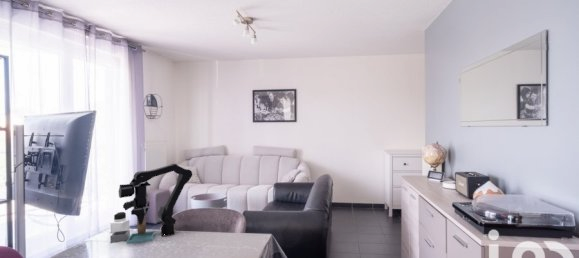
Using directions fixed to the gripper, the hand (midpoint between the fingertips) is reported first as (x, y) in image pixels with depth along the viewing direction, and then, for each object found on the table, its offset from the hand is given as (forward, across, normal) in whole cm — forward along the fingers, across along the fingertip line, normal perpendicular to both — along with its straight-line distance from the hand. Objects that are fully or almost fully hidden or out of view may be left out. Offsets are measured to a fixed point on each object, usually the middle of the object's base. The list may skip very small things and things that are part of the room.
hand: (141, 223), depth 157 cm
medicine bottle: (+10, -19, -15) cm, 26 cm away
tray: (+9, 0, 0) cm, 9 cm away
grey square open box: (+9, -3, -11) cm, 15 cm away
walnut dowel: (+6, 0, 0) cm, 6 cm away
